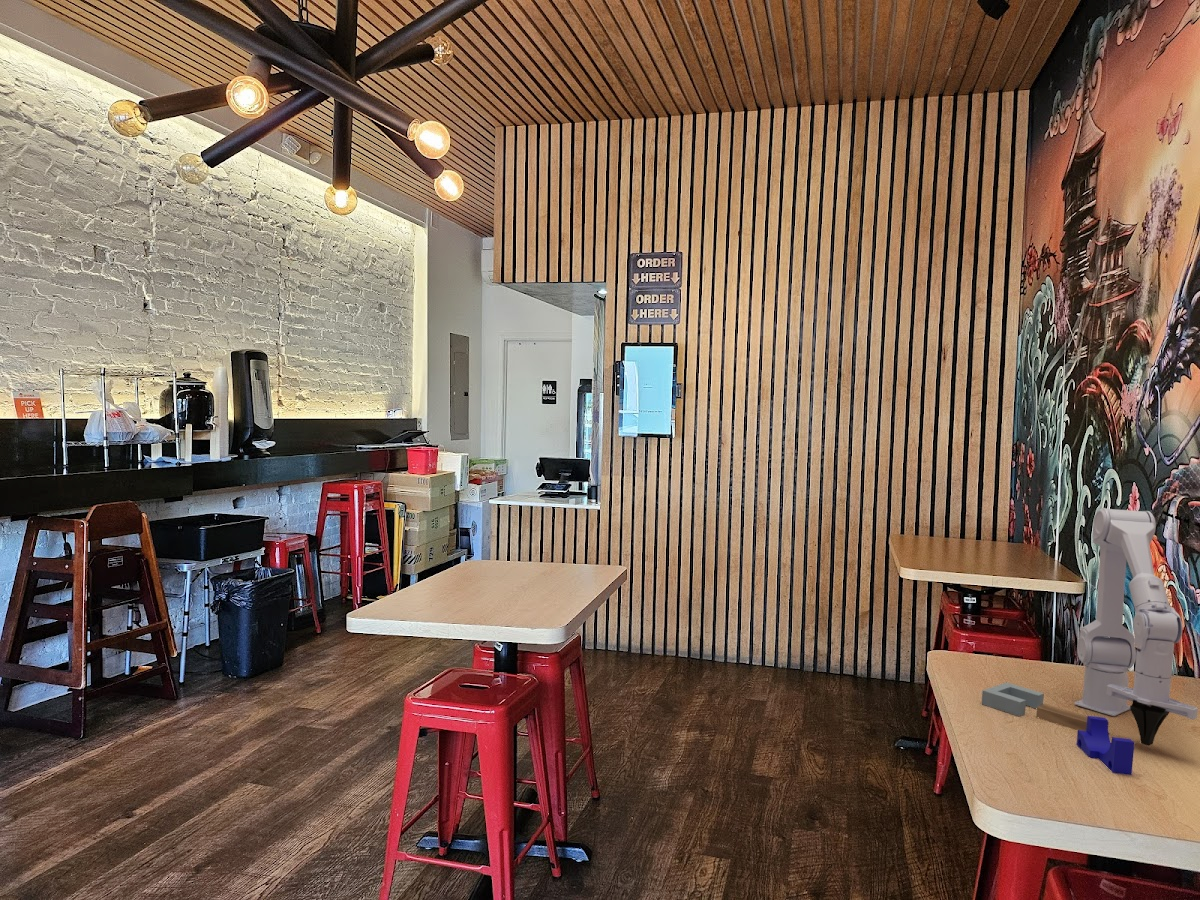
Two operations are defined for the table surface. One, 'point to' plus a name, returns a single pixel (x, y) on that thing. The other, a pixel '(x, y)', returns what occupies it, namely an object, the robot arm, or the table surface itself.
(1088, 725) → the cable clip
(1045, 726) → the table surface
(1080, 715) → the slat
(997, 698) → the end cap
